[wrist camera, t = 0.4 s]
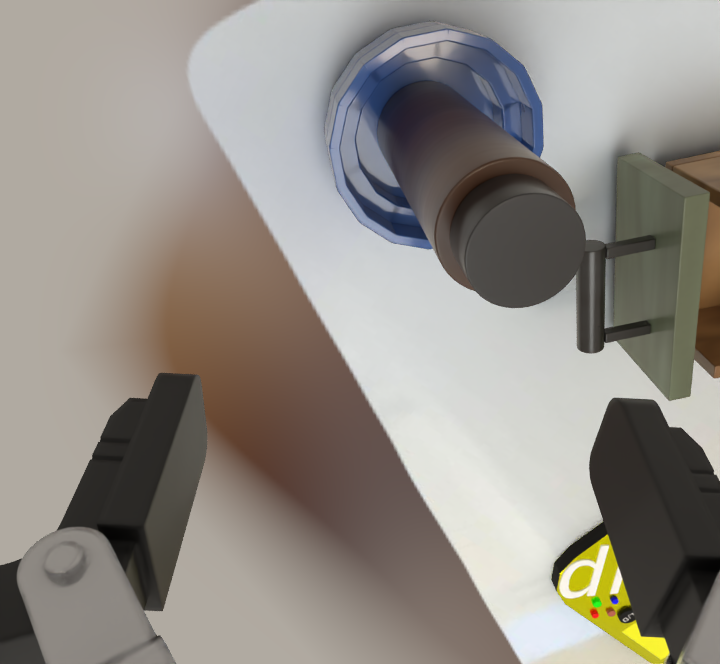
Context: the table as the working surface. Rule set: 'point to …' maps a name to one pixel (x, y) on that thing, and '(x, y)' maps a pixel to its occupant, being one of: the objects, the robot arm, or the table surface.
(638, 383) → the table surface
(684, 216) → the drawer
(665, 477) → the robot arm
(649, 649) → the game console
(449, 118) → the pepper mill
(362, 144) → the bowl
